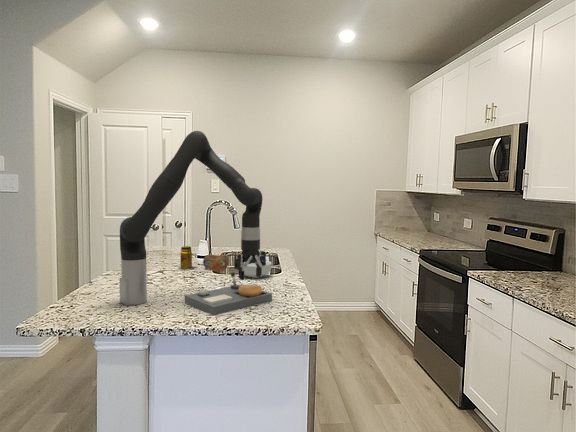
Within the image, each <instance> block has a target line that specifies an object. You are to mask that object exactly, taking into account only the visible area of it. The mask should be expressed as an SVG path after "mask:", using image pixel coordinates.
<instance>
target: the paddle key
mask: <svg viewBox="0 0 576 432" xmlns="http://www.w3.org/2000/svg"><path fill="white" fill-rule="evenodd" d="M229 300H233V297H230V296H227V295H225V294H224V295H219V296H214V297H209V298H205V299H203V302H205V303H208V304H216V303H220V302H225V301H229Z"/></svg>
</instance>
